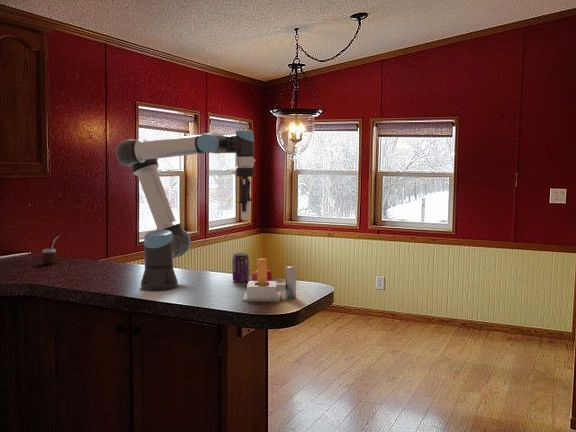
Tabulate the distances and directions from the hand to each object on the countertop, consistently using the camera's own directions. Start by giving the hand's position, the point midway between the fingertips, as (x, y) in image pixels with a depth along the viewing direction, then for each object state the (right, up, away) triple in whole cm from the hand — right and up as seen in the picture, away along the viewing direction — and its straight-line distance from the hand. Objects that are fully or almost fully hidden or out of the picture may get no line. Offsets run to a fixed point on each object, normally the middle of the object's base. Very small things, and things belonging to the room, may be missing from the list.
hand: (245, 218), depth 253 cm
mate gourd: (-105, -24, +57) cm, 122 cm away
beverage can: (-3, -28, +12) cm, 30 cm away
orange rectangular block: (+8, -30, -21) cm, 38 cm away
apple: (+7, -29, -2) cm, 30 cm away
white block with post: (+11, -31, -22) cm, 39 cm away
